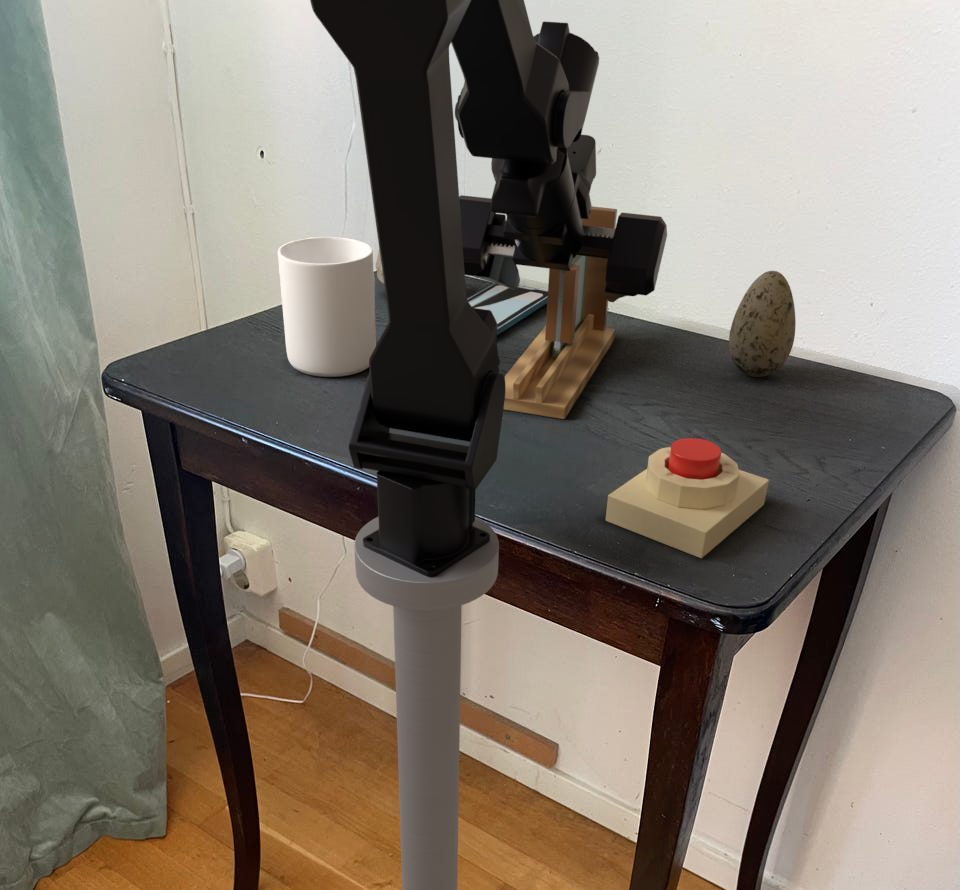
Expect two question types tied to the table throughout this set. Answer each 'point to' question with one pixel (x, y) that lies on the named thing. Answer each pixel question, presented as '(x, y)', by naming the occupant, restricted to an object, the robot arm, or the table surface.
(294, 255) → the mug
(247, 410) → the table surface
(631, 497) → the control block
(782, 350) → the decorative egg
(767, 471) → the table surface
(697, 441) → the button
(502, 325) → the smartphone
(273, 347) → the table surface
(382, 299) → the table surface
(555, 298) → the sash
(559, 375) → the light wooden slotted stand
